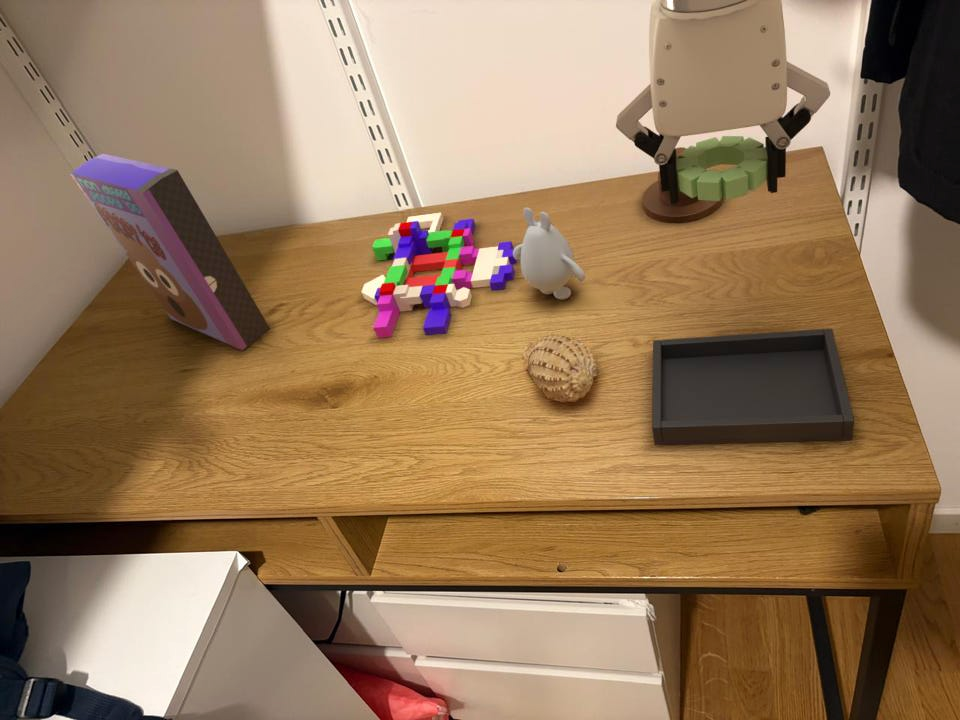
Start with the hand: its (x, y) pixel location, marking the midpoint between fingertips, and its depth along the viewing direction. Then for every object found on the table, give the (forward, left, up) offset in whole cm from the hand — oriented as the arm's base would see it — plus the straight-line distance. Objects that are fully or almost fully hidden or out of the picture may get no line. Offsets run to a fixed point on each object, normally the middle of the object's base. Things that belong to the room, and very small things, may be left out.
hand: (722, 189), depth 65 cm
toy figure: (+19, -9, -18) cm, 28 cm away
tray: (-1, +8, -18) cm, 19 cm away
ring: (0, 0, +1) cm, 1 cm away
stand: (+4, -26, -18) cm, 32 cm away
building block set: (+35, -16, -18) cm, 42 cm away
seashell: (+17, +5, -18) cm, 25 cm away
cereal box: (+66, -9, -18) cm, 69 cm away
